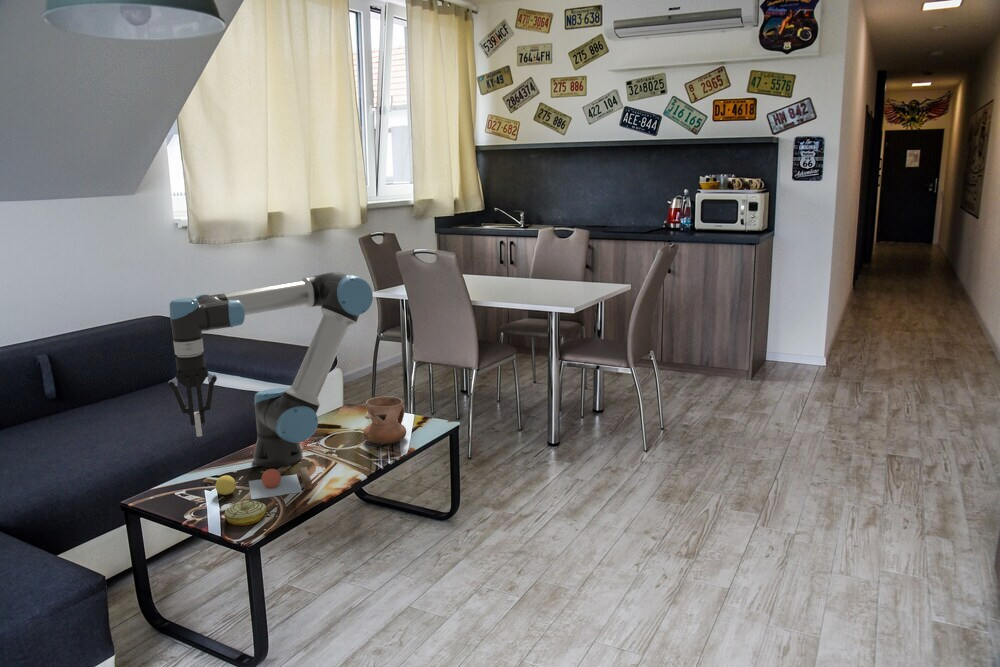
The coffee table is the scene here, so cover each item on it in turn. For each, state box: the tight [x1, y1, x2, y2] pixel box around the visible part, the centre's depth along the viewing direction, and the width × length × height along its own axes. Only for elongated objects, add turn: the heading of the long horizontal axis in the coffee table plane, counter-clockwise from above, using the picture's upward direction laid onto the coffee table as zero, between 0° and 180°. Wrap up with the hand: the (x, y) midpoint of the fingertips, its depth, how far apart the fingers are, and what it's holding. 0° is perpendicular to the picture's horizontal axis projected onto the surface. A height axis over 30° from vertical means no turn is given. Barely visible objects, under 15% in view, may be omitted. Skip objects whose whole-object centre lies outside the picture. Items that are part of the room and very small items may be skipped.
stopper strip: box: [299, 466, 313, 491], centre depth 234 cm, size 2×12×2 cm, turn 20°
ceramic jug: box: [363, 395, 407, 445], centre depth 268 cm, size 18×14×14 cm
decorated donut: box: [224, 500, 267, 527], centre depth 211 cm, size 10×11×4 cm
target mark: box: [248, 473, 303, 501], centre depth 232 cm, size 14×14×1 cm
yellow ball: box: [215, 474, 237, 496], centre depth 226 cm, size 6×6×6 cm
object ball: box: [261, 468, 282, 488], centre depth 231 cm, size 6×6×6 cm
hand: (199, 434), depth 223 cm, fingers closed
